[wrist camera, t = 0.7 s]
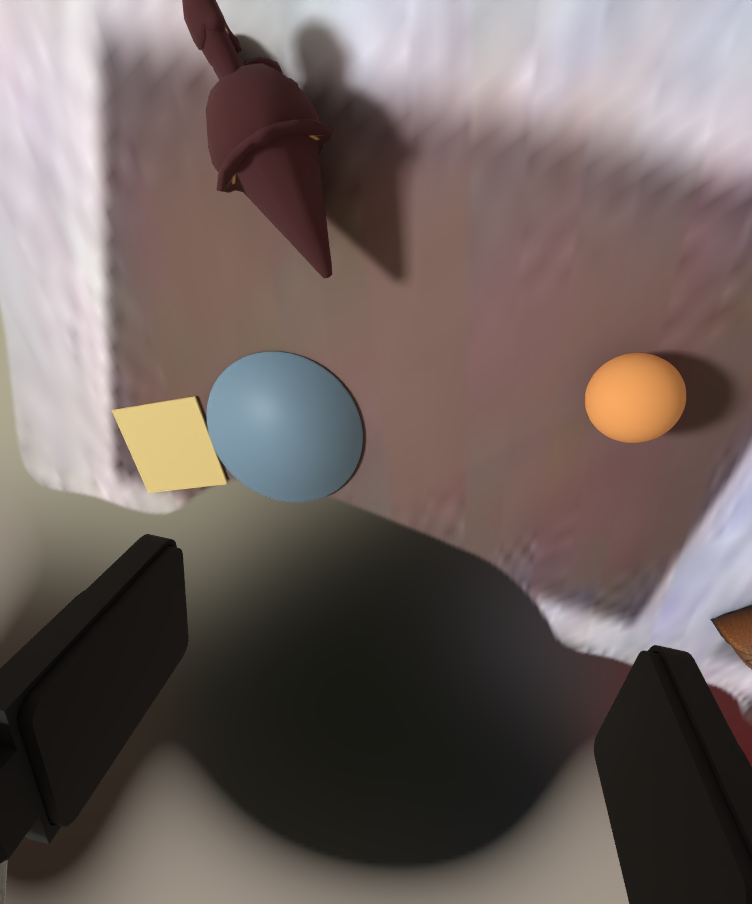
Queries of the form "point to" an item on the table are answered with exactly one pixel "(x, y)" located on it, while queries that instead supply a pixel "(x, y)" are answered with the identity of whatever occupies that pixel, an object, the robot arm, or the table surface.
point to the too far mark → (171, 445)
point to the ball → (635, 397)
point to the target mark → (284, 426)
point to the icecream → (263, 136)
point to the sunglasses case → (737, 632)
